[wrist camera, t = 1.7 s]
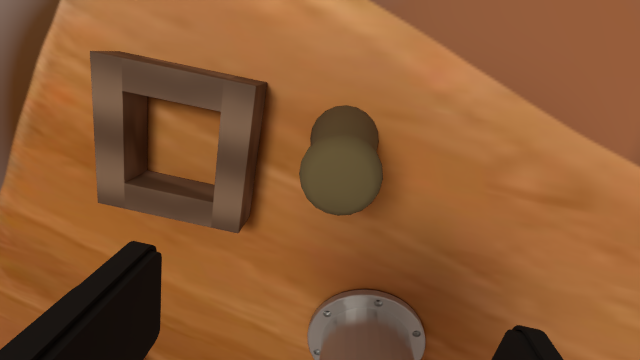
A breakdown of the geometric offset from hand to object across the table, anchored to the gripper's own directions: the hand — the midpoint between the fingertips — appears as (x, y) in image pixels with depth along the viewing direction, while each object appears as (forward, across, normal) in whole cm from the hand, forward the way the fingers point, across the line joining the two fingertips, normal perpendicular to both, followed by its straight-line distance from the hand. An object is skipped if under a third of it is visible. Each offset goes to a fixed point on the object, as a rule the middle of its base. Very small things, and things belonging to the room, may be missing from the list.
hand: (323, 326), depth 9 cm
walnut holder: (+22, +14, +3) cm, 26 cm away
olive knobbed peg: (+22, 0, 0) cm, 22 cm away
